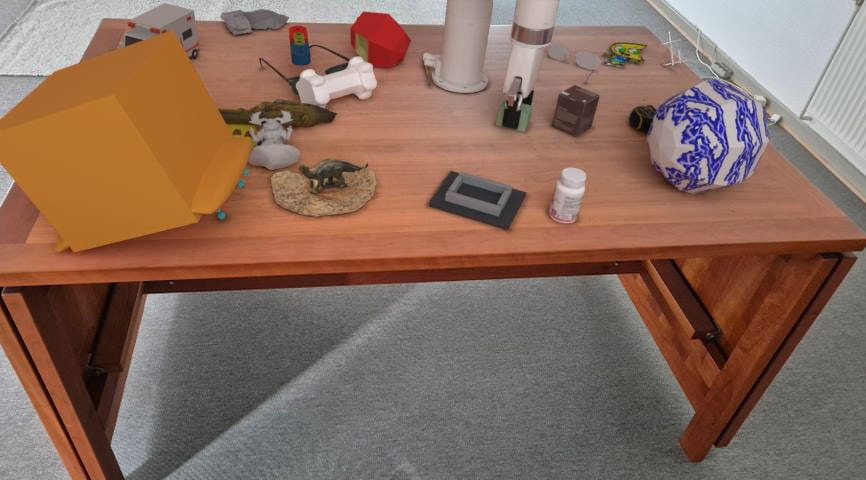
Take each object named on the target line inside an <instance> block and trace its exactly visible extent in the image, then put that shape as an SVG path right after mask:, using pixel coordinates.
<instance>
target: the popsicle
mask: <svg viewBox="0 0 866 480" xmlns="http://www.w3.org/2000/svg"><path fill="white" fill-rule="evenodd" d="M225 123H226V124H227V126H228V128H229V130H230V131H231V133H232V135H233V137H234V138H249V139H250V140H251V151H252V150H253V149H254V147H256V142H254V143H253V138H252V136H251V134H250V133H249V132H250V128H251V127H252V129H251V130H253V129H254V134H255V136H256V134H257V132H258V129H257V127H256V124H250V123H231V122H225ZM257 146H259V142H258V143H257Z"/></svg>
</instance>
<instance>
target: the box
mask: <svg viewBox="0 0 866 480" xmlns="http://www.w3.org/2000/svg"><path fill="white" fill-rule="evenodd" d="M600 97H601V95H600V94H599V93H595V92H593V91H591V90H588V89H586V88H584V87H582V86H579V85H577V84H573V85H572V86H570V87H569V88H567V89H565V90H563V91H561V92H560V93H559V94H558V97H557V100H556V101H557V102H556V106H555V110H554V114H553V119H552V124H551V126H552V127H554V128H556V129H558V130H560V131H563V132H565V133H567V134H570V135H572V136H574V137H578V136H580V135H581V134H583V133H585V132H586V131H587V130H589V129H591V128H592V126H593V122H594V118H595V115H596V111H597V107H598V104H599V100H600Z"/></svg>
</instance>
